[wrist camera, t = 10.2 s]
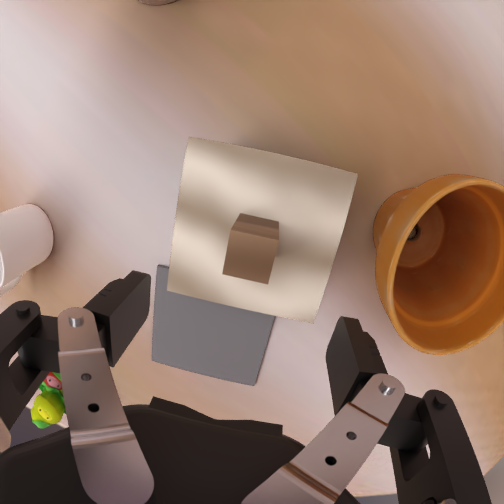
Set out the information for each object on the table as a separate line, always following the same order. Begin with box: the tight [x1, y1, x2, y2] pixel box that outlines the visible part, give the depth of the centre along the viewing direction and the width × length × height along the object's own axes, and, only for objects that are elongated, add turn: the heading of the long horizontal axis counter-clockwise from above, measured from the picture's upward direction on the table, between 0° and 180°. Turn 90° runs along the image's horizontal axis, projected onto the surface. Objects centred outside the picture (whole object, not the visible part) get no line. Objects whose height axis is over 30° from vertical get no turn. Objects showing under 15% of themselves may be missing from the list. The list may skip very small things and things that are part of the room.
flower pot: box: [373, 174, 504, 355], centre depth 24 cm, size 14×14×13 cm
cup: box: [0, 204, 54, 297], centre depth 30 cm, size 8×12×10 cm
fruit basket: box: [31, 372, 67, 428], centre depth 37 cm, size 11×9×11 cm
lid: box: [167, 137, 358, 323], centre depth 22 cm, size 13×13×6 cm
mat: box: [152, 265, 275, 386], centre depth 36 cm, size 14×14×1 cm
